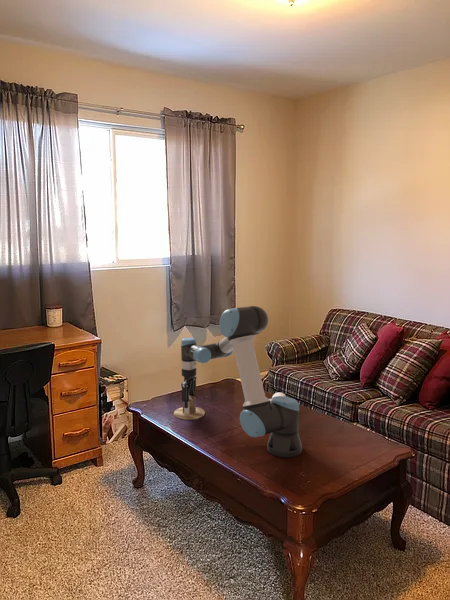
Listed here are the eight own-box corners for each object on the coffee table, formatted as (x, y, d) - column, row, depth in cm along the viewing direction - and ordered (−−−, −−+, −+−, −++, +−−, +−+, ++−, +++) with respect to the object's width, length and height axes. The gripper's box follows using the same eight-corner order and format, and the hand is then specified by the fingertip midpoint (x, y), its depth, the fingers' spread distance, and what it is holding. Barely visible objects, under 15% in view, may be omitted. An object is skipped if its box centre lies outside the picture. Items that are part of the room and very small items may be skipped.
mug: (286, 406, 264) (287, 392, 263) (287, 413, 255) (287, 398, 253) (264, 405, 265) (264, 391, 264) (264, 412, 256) (264, 398, 254)
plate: (197, 421, 244) (197, 420, 244) (168, 417, 249) (168, 415, 249) (209, 410, 258) (209, 408, 258) (182, 406, 264) (182, 404, 264)
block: (191, 414, 251) (191, 399, 249) (182, 413, 252) (182, 398, 251) (195, 411, 255) (195, 396, 254) (187, 409, 257) (186, 395, 256)
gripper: (187, 373, 240) (188, 418, 244) (202, 364, 257) (203, 406, 261) (174, 372, 243) (174, 416, 247) (189, 362, 260) (190, 404, 263)
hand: (189, 411), depth 254 cm, fingers closed on block, 5 cm apart
